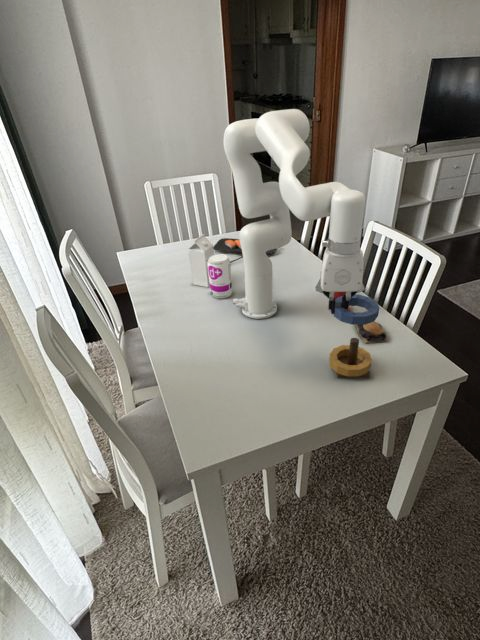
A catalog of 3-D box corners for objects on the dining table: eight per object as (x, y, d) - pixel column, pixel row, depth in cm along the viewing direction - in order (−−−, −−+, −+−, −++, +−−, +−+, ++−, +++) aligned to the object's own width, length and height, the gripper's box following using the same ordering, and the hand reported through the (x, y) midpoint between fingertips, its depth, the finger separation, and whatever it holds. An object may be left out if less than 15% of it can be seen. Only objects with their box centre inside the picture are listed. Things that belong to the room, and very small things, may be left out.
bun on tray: (353, 326, 137) (354, 316, 135) (377, 323, 138) (379, 314, 136) (363, 344, 129) (365, 334, 127) (389, 341, 129) (391, 332, 127)
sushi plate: (279, 245, 195) (279, 237, 192) (265, 272, 171) (265, 264, 169) (221, 241, 200) (220, 233, 198) (199, 267, 177) (198, 259, 175)
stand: (337, 378, 116) (340, 349, 110) (333, 358, 123) (336, 331, 117) (369, 378, 115) (374, 349, 110) (363, 358, 123) (368, 331, 117)
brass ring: (332, 376, 114) (333, 369, 112) (327, 352, 123) (327, 345, 122) (374, 376, 114) (375, 369, 112) (365, 351, 123) (367, 344, 122)
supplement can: (224, 301, 152) (220, 264, 144) (206, 296, 156) (202, 259, 147) (236, 292, 158) (234, 255, 149) (219, 287, 162) (216, 251, 153)
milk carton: (192, 284, 164) (186, 239, 153) (201, 277, 169) (196, 232, 158) (208, 287, 162) (203, 241, 150) (216, 279, 167) (212, 234, 156)
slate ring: (335, 324, 104) (336, 316, 103) (331, 302, 114) (331, 294, 112) (381, 324, 104) (383, 316, 102) (373, 302, 113) (374, 294, 112)
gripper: (311, 251, 95) (308, 319, 106) (380, 251, 95) (370, 318, 105) (309, 239, 101) (306, 304, 112) (374, 239, 101) (365, 304, 111)
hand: (337, 311), depth 109 cm, fingers closed on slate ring, 2 cm apart
